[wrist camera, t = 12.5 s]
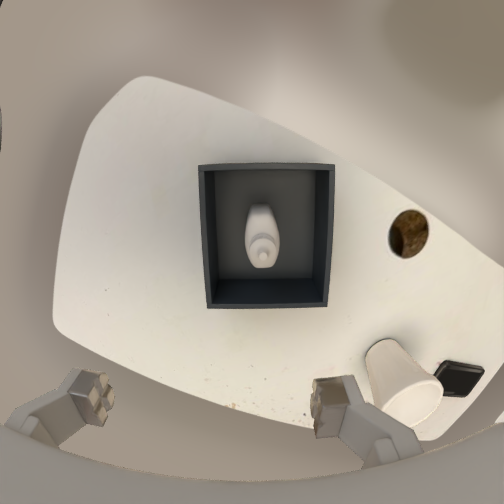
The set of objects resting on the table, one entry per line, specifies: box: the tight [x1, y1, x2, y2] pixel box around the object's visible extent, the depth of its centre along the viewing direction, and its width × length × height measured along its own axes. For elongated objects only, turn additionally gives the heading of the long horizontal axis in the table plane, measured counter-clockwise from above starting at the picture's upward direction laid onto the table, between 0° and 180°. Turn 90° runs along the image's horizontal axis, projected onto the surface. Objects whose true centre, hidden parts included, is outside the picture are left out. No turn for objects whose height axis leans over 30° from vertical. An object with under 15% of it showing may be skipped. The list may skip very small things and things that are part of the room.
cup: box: [365, 339, 444, 428], centre depth 37 cm, size 10×10×13 cm
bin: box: [198, 163, 335, 309], centre depth 33 cm, size 15×13×8 cm
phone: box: [433, 361, 485, 397], centre depth 45 cm, size 8×1×15 cm
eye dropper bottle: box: [245, 203, 280, 268], centre depth 31 cm, size 4×6×12 cm
